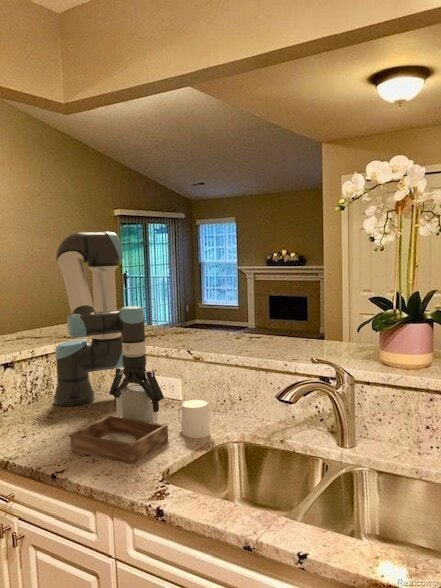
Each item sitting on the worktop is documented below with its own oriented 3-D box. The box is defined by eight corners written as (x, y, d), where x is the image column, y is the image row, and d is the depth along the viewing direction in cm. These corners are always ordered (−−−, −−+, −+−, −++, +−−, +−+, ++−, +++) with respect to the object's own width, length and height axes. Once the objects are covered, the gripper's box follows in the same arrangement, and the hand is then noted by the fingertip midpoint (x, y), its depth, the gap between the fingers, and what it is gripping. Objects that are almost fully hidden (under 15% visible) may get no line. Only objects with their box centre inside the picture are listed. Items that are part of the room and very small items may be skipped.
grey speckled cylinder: (130, 433, 155) (128, 394, 154) (117, 425, 162) (115, 388, 161) (157, 426, 160) (155, 389, 159) (143, 418, 168) (142, 383, 167)
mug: (215, 403, 152) (196, 410, 146) (216, 433, 153) (197, 440, 147) (188, 396, 160) (169, 402, 154) (189, 424, 161) (170, 431, 155)
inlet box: (110, 431, 157) (109, 415, 157) (168, 441, 147) (167, 425, 146) (71, 450, 142) (70, 434, 142) (132, 464, 132) (131, 445, 131)
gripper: (96, 354, 162) (99, 417, 164) (159, 359, 150) (162, 427, 152) (111, 349, 168) (114, 410, 170) (172, 354, 157) (175, 419, 159)
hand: (137, 418), depth 161 cm, fingers open, 13 cm apart
